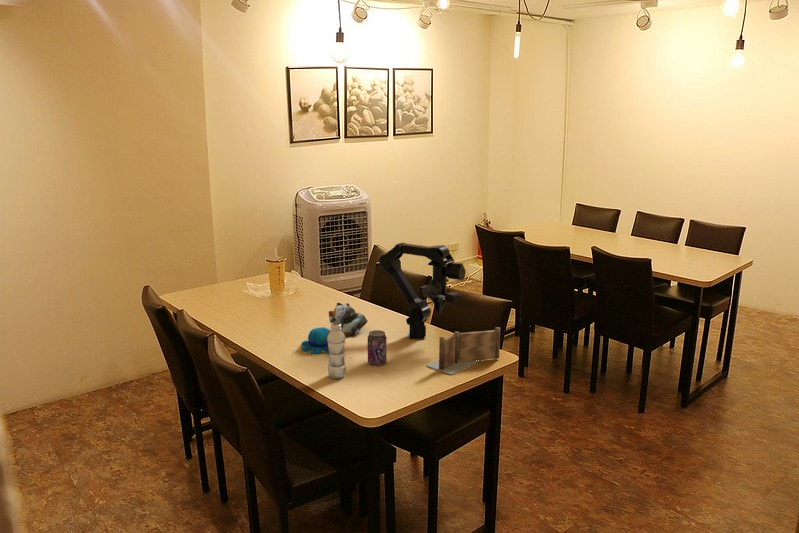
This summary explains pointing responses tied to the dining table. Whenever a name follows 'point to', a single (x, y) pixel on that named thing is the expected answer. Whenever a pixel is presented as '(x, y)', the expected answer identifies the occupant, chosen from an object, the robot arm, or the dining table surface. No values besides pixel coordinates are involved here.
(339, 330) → the plastic bottle
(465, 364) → the card
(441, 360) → the fence fixed
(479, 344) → the fence panel
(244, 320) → the dining table surface
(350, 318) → the grey stuffed animal
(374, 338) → the beverage can
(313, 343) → the plush toy
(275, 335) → the dining table surface
